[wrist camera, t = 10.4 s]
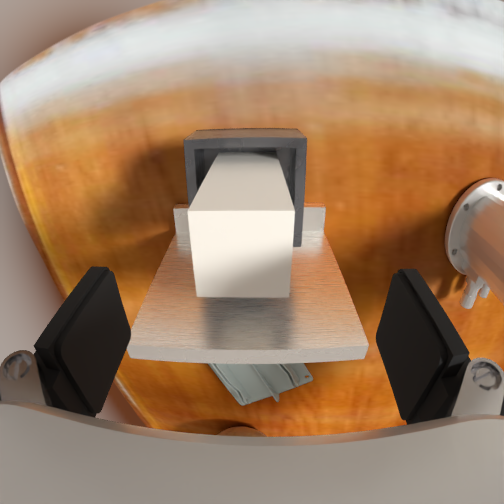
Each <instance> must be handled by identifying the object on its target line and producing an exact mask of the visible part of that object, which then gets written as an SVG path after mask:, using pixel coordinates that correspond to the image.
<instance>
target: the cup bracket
mask: <svg viewBox="0 0 504 504" xmlns="http://www.w3.org/2000/svg"><path fill="white" fill-rule="evenodd" d="M306 150H307V138H306V137H305V136H304V135H303V134H302V133H301V132H300V131H299V130H298V129H285V128H240V129H210V130H196V131H195V132H194V133H192V134H191V135H190V136H188V137H187V138H186V139H184V154H185V167H186V180H187V192H188V203H189V204H176V205H175V207H174V208H173V211H174V219H175V227H176V233H175V235H174V237H173V239H172V241H171V243H170V245H169V248H168V250H167V252H166V254H165V256H164V258H163V260H162V262H161V264H160V266H159V268H158V271H157V273H156V275H155V277H154V279H153V281H152V283H151V286H150V288H149V290H148V292H147V294H146V297H145V299H144V301H143V303H142V306H141V308H140V310H139V313H138V315H137V317H136V319H135V322H134V324H133V326H132V329H131V339H130V342H129V344H128V346H127V351H128V353H129V356H130V358H136V359H147V360H160V361H174V362H191V363H217V364H286V363H312V362H329V361H344V360H356V359H364V358H365V355H366V352H367V349H368V346H369V344H368V341H367V338H366V336H365V333H364V330H363V327H362V325H361V322H360V319H359V317H358V314H357V312H356V309H355V306H354V304H353V301H352V299H351V296H350V293H349V291H348V288H347V286H346V283H345V281H344V278H343V276H342V274H341V271H340V269H339V266H338V264H337V261H336V259H335V257H334V254H333V252H332V250H331V247H330V245H329V243H328V240H327V238H326V236H325V233H324V221H325V210H326V207H325V205H324V203H304V195H305V175H306ZM226 152H276V153H277V156H278V159H279V162H280V165H281V168H282V171H283V175H284V178H285V181H286V184H287V187H288V190H289V193H290V197H291V200H292V203H293V206H294V209H295V218H294V235H293V250H292V265H291V278H290V291H289V297H281V298H239V297H197V293H196V285H195V277H194V269H193V260H192V251H191V241H190V232H189V221H188V209H189V207H190V205H191V203H192V202H193V200H194V198H195V196H196V194H197V192H198V190H199V188H200V186H201V184H202V182H203V181H204V179H205V177H206V175H207V173H208V171H209V169H210V168H211V166H212V164H213V162H214V160H215V159H216V157H217V155H218V153H226Z"/></svg>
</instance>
